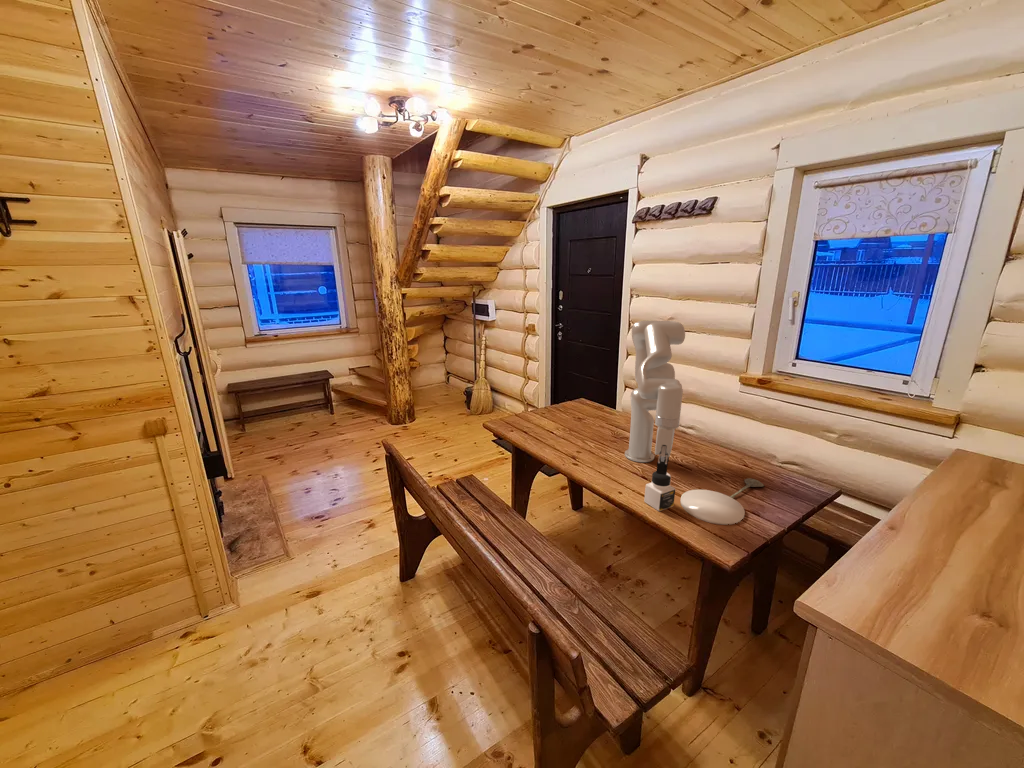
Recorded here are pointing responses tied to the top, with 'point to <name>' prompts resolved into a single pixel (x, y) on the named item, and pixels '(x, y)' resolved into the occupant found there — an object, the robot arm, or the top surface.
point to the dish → (712, 507)
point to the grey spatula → (749, 485)
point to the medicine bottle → (660, 492)
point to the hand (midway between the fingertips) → (662, 467)
